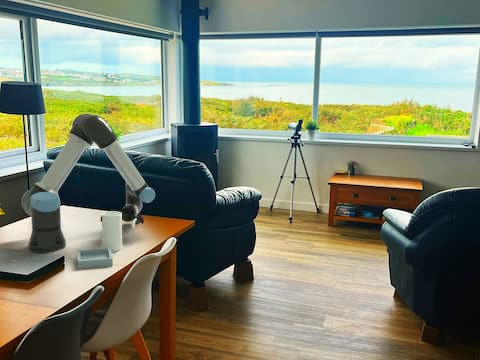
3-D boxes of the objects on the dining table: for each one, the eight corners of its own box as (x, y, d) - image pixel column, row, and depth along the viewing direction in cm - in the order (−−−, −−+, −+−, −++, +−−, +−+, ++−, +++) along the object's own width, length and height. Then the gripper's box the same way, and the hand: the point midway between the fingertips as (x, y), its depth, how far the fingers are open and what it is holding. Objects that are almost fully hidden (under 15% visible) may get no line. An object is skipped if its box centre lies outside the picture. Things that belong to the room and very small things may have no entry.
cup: (114, 244, 210) (114, 210, 207) (126, 248, 205) (125, 213, 202) (99, 248, 204) (98, 213, 201) (110, 253, 198) (109, 217, 196)
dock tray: (78, 268, 180) (77, 261, 180) (77, 257, 192) (77, 250, 192) (112, 265, 185) (112, 258, 184) (110, 254, 197) (110, 247, 196)
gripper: (154, 220, 231) (145, 233, 210) (104, 219, 231) (90, 231, 210) (154, 206, 230) (145, 217, 209) (103, 204, 230) (90, 215, 209)
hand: (117, 224), depth 210 cm, fingers open, 13 cm apart
